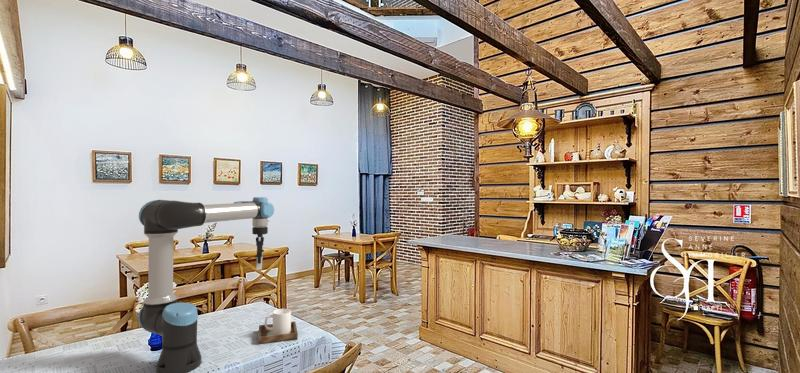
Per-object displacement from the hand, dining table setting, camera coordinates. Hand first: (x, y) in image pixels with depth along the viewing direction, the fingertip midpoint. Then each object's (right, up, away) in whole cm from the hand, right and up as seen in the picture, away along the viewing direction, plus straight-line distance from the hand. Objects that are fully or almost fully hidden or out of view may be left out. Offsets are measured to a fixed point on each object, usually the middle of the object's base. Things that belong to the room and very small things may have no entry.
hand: (259, 266), depth 193 cm
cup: (+16, -28, -18) cm, 36 cm away
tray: (+16, -29, -18) cm, 37 cm away
